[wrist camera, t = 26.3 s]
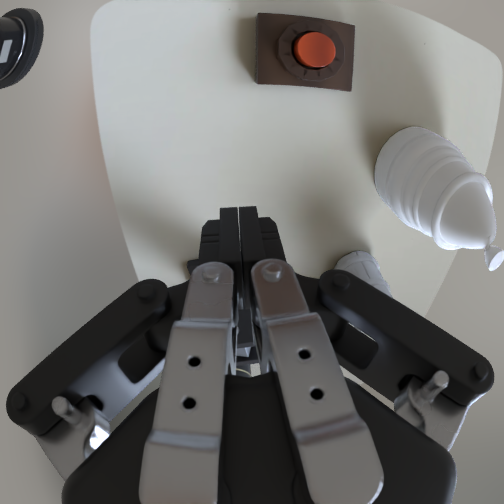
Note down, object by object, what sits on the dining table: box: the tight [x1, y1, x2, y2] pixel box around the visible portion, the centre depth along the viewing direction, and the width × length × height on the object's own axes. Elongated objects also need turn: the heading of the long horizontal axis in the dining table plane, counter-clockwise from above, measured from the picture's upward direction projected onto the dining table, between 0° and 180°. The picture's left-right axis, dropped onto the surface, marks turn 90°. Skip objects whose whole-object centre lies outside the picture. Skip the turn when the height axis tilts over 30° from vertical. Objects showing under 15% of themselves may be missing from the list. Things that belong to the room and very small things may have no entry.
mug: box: [334, 251, 392, 332], centre depth 39 cm, size 8×12×12 cm, turn 163°
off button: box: [294, 32, 336, 67], centre depth 20 cm, size 4×4×2 cm
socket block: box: [256, 13, 355, 92], centre depth 22 cm, size 10×8×4 cm
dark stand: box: [187, 251, 259, 366], centre depth 37 cm, size 12×9×14 cm
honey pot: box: [374, 127, 504, 271], centre depth 26 cm, size 13×13×18 cm
